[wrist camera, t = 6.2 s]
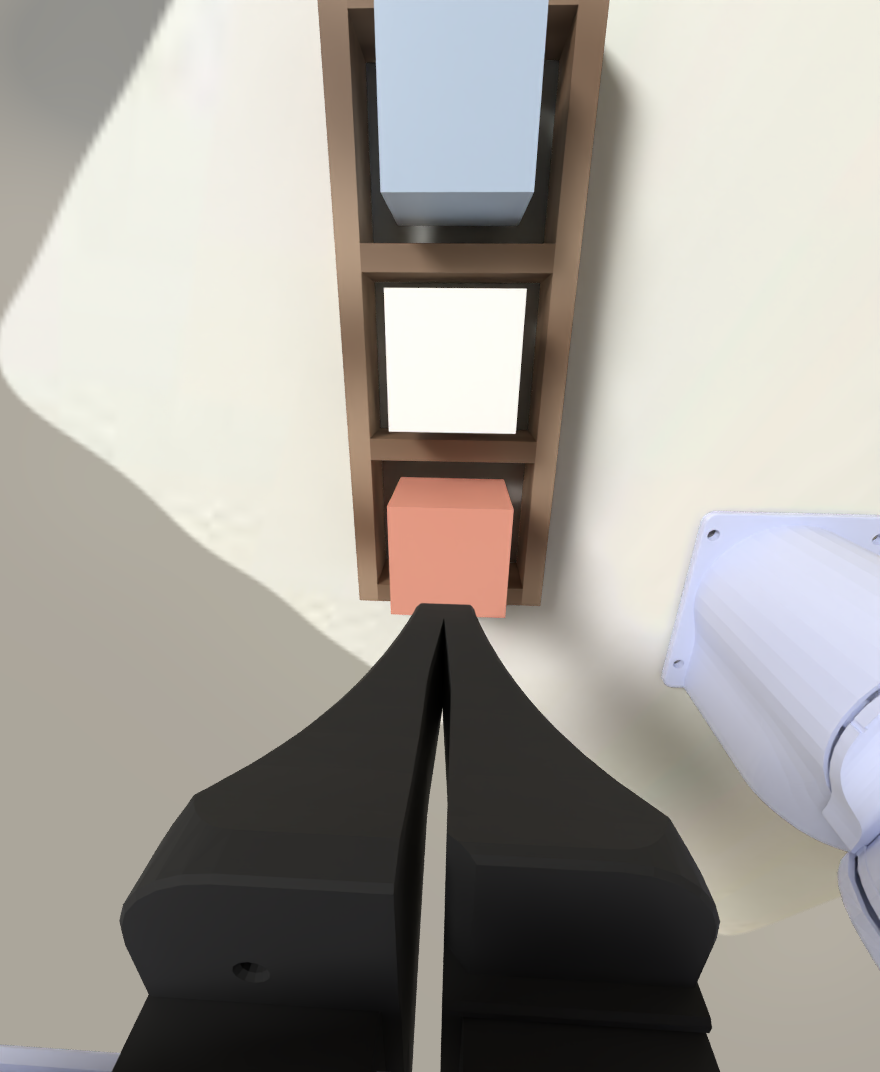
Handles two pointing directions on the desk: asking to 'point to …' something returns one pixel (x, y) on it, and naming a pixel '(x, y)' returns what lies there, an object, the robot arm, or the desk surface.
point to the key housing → (552, 264)
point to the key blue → (459, 108)
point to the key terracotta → (449, 544)
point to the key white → (453, 359)
